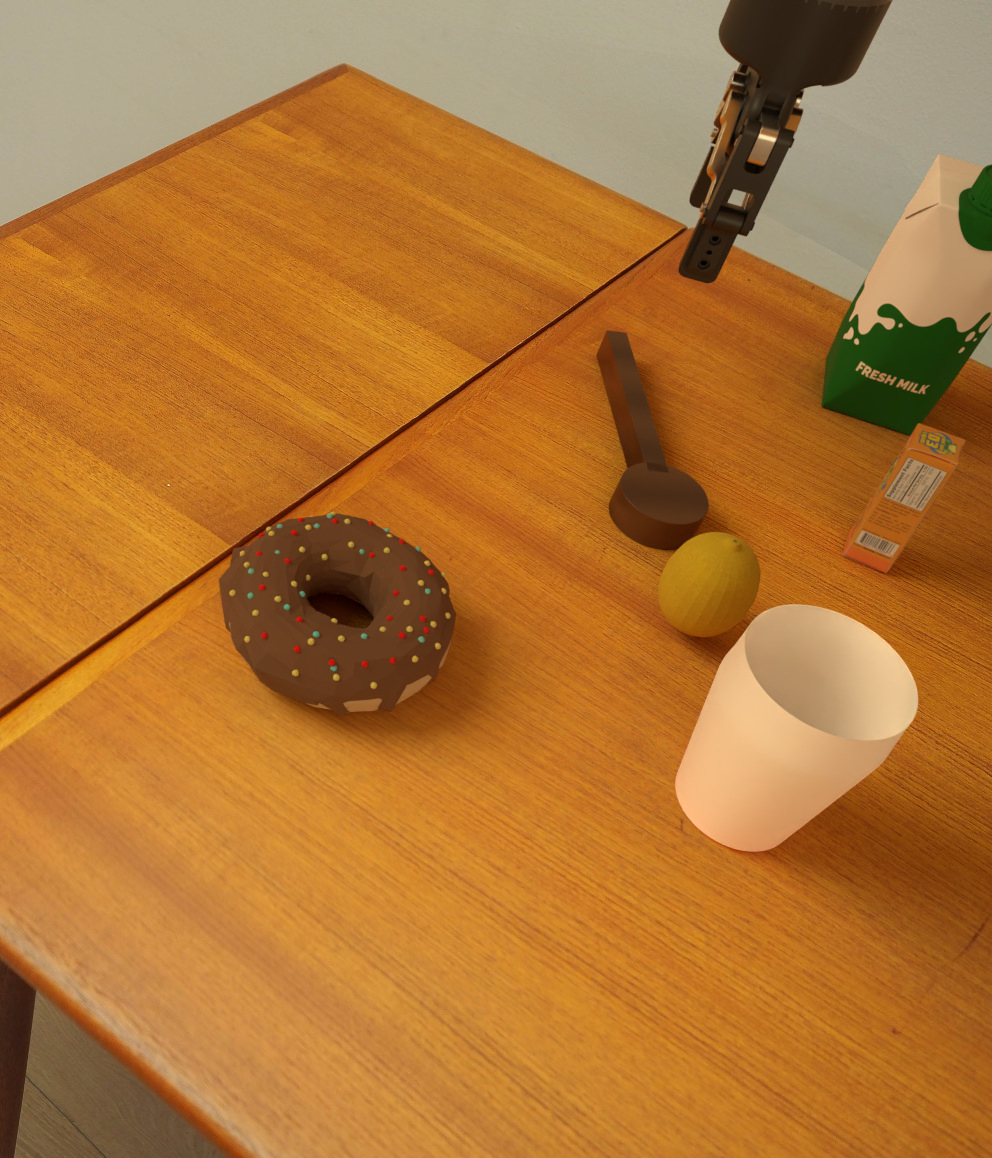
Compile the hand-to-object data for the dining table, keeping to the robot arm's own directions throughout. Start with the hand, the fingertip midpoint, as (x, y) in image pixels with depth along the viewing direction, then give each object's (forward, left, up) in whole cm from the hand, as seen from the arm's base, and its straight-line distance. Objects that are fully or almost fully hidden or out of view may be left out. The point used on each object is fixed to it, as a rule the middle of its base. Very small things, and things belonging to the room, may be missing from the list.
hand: (700, 240), depth 79 cm
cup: (-3, +27, -19) cm, 33 cm away
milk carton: (-24, -13, -19) cm, 33 cm away
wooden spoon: (-3, -3, -19) cm, 19 cm away
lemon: (-3, +14, -19) cm, 24 cm away
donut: (+20, +18, -19) cm, 33 cm away
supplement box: (-18, +5, -19) cm, 27 cm away
